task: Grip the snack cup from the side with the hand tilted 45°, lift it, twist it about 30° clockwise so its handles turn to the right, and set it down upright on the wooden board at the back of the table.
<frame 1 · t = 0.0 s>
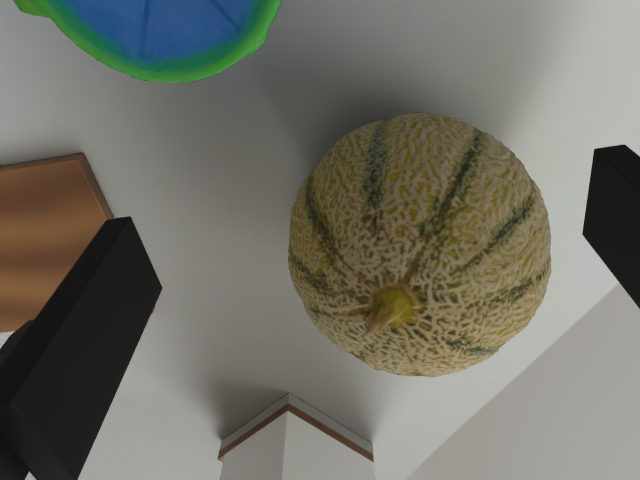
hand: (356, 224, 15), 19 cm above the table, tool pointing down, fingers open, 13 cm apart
wooden board: (37, 249, 38), on the table
striped white pillar: (296, 440, 52), on the table
cantaloupe: (400, 184, 35), on the table
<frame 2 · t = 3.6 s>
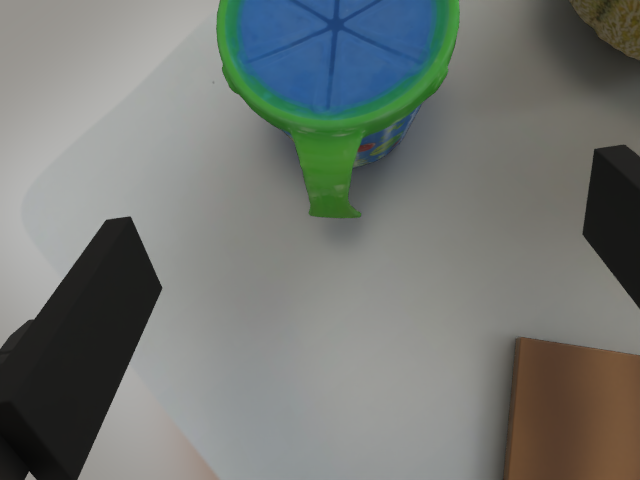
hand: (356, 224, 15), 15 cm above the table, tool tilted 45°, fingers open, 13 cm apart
snack cup: (350, 116, 31), on the table
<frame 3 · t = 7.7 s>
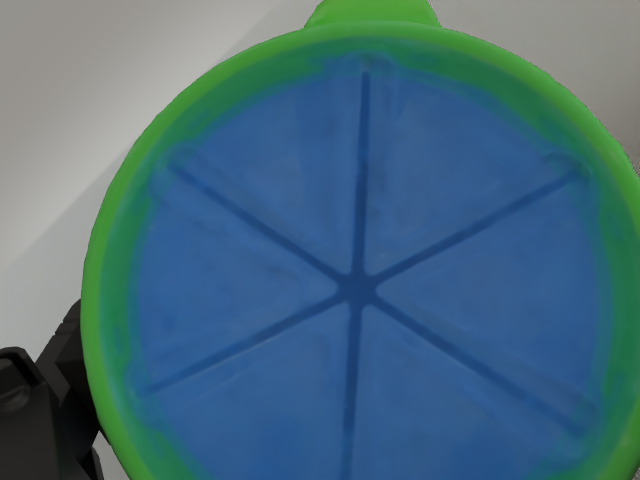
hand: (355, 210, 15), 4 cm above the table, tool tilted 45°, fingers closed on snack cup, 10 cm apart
snack cup: (372, 312, 19), on the table, touching gripper
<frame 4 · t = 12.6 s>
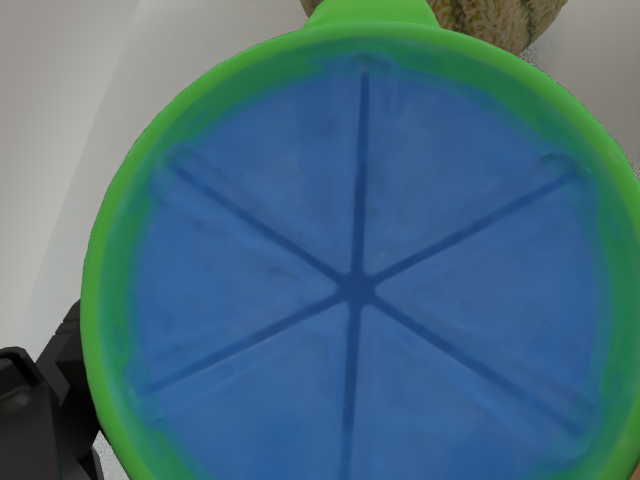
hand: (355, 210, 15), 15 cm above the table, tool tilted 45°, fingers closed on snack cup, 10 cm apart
snack cup: (371, 312, 19), point 11 cm above the table, touching gripper
cantaloupe: (423, 30, 33), on the table
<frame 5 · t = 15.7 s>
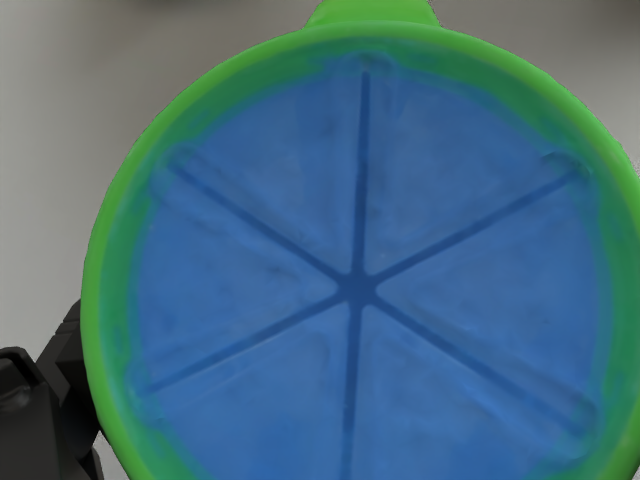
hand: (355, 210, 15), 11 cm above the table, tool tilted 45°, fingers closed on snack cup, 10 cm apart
snack cup: (372, 312, 19), point 7 cm above the table, touching gripper
when the fingers open (5 cm above the table, at t = 17.9 s): snack cup stays where it is, resting on wooden board.
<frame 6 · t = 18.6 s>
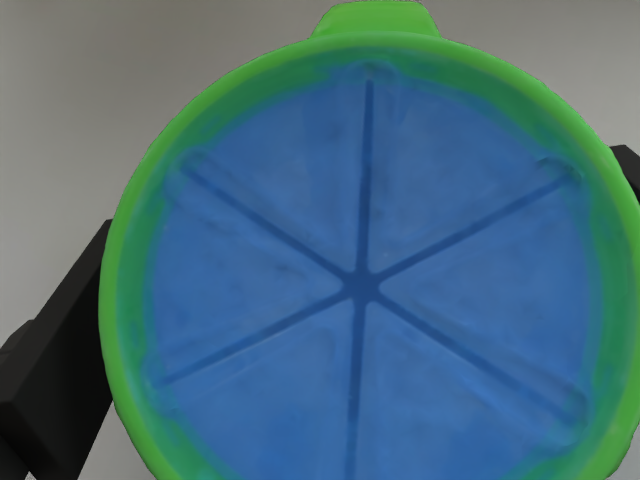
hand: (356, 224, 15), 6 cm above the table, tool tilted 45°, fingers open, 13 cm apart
snack cup: (373, 310, 19), point 1 cm above the table, touching wooden board
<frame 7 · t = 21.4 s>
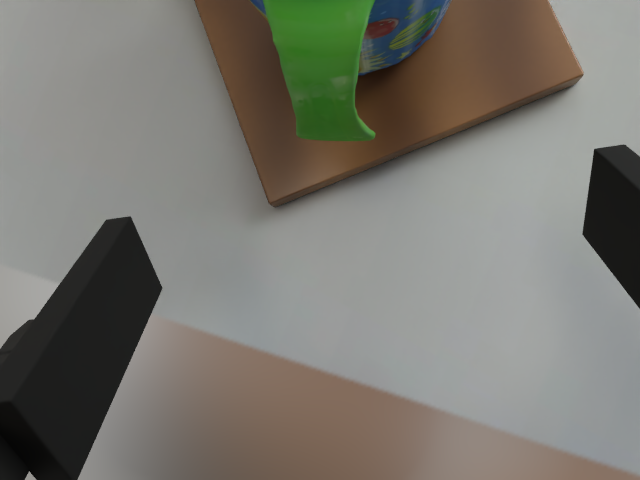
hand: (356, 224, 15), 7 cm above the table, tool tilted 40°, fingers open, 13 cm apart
snack cup: (360, 2, 22), point 1 cm above the table, touching wooden board
wooden board: (362, 11, 23), on the table
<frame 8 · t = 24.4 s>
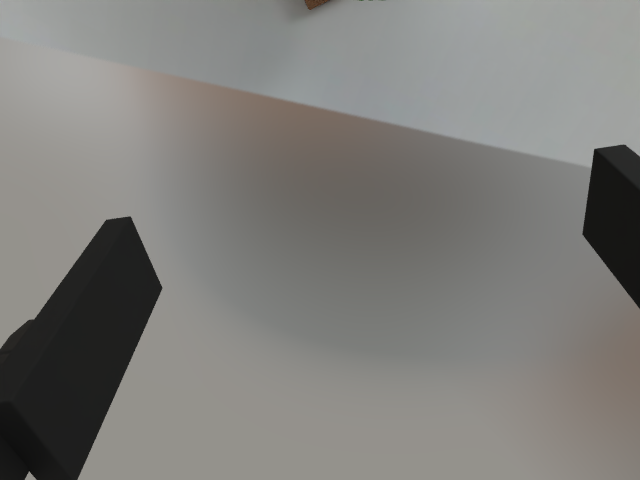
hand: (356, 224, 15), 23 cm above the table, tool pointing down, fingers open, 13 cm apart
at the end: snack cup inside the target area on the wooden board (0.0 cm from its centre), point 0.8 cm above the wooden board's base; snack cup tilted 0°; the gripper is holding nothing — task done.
